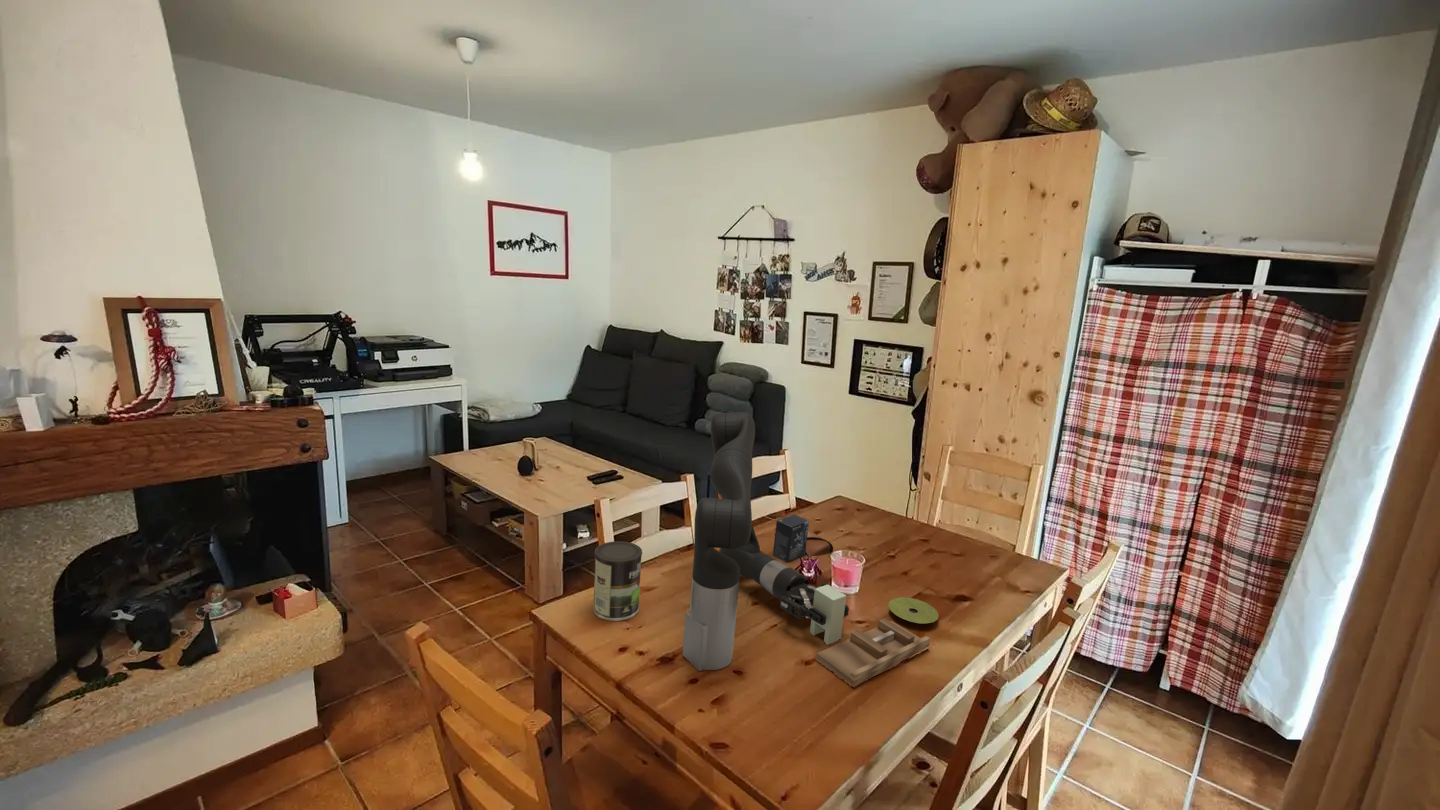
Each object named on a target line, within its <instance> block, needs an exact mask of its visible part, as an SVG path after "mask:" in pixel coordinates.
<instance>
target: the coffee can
mask: <svg viewBox="0 0 1440 810" xmlns="http://www.w3.org/2000/svg"><path fill="white" fill-rule="evenodd" d="M642 556H643V550H642V548H641V547H640V545H637V544H635V543H633V542H629V541H624V540H623V541H622V540H619V541H618V540H617V541H608V542H605V543H602V544H599V545H598V546H597V547H596V548H595V550H594V585H593V586H594V587H593V588H594V589H593V608H592V609H593V613H594V615H596V617H597V618H600V619H602V620H605V621H612V622H619V621H621V622H622V621H626V620H629V619H632V618H634V617H635V616H636V615H637V614H638V613H639V611H640V589H641V572H642V571H641V569H642V565H641V564H642Z"/></svg>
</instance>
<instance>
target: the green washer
mask: <svg viewBox="0 0 1440 810" xmlns="http://www.w3.org/2000/svg"><path fill="white" fill-rule="evenodd" d="M888 609H889V610H890V611H891V612H892V613H893V614H894V615H895V616H896V617H899V618H900V619H903V620H905V621H908V622H910V623H915V624H922V625H923V624H924V625H925V624H931V623H935V622H936V621H937V620H938V619H939V613H938V610H937V609H936V608H934V607H933V606H932V605H930V604H929V603H927V602H925V601H923V600H920V599H916V598H912V597H897V598H896V597H895V598H893V599H891V600H890V601H889V602H888Z"/></svg>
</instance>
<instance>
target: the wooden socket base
mask: <svg viewBox="0 0 1440 810" xmlns="http://www.w3.org/2000/svg"><path fill="white" fill-rule="evenodd" d="M930 641H931V638H930V637H929V636H927V635H924V636H923V637H919V636H918V635H916V634H914V633H913V632H912V631H909V630H908V629H907V628H905V627H903V626H902V625H900V624H898V623H896V622H894V621H893V620H888V619H887V618H886V617H883V618H881V619H879V620H878V622H877V626H876V627H874V628H871V629H869V630H867V631H865V632H862V631H860V630H859V629H855V630H853V631H851V632H850V637H849V638H848V639H846V640H844V641H842V642H840V643H837V644H835V645H833V646H830V647H828V648H826V649H823V650H821V651H819V652H816V654H815V661H816V662H817V663H819V664H820V663H821V665H822V666H823V665H824V666H825V667H824V666H823V667H824V668H826V669H827V668H828V669H829V670H828V669H827V670H828V671H830V670H831V671H833V672H834V673H836V674H837V675H838V676H840V677H841V678H843V679H844V680H846V681H847V682H849V683H850V684H851V685H853V686H855V685H857V684H859V683H861V682H863V681H865V680H866V679H869V678H870V677H873V676H874V675H877V674H879V673H880V672H883V671H885V670H886V669H888V668H890V667H892V666H894V665H896V664H898V663H900V662H901V661H903V660H905V659H907V658H909V657H910V656H912V655H914V654H916V653H918V652H919V651H921V650H923V649H925V648H926V647H928V646H929V647H930ZM831 671H830V672H831ZM834 673H833V674H834ZM838 676H837V677H838Z"/></svg>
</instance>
